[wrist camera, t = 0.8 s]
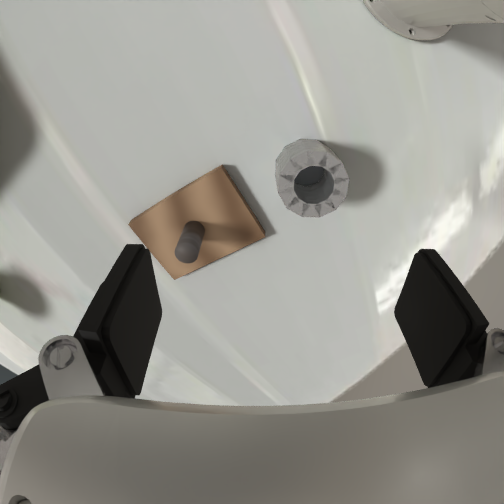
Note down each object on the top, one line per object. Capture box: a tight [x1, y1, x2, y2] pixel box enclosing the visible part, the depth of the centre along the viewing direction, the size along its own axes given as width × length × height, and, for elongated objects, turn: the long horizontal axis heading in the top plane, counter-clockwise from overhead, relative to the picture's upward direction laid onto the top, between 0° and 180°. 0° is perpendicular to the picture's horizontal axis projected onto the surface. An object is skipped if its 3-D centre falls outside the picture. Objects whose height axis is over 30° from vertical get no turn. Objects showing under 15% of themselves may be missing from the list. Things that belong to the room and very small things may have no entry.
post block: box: [128, 165, 265, 280], centre depth 35 cm, size 14×10×6 cm
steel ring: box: [275, 139, 349, 217], centre depth 31 cm, size 7×7×5 cm
